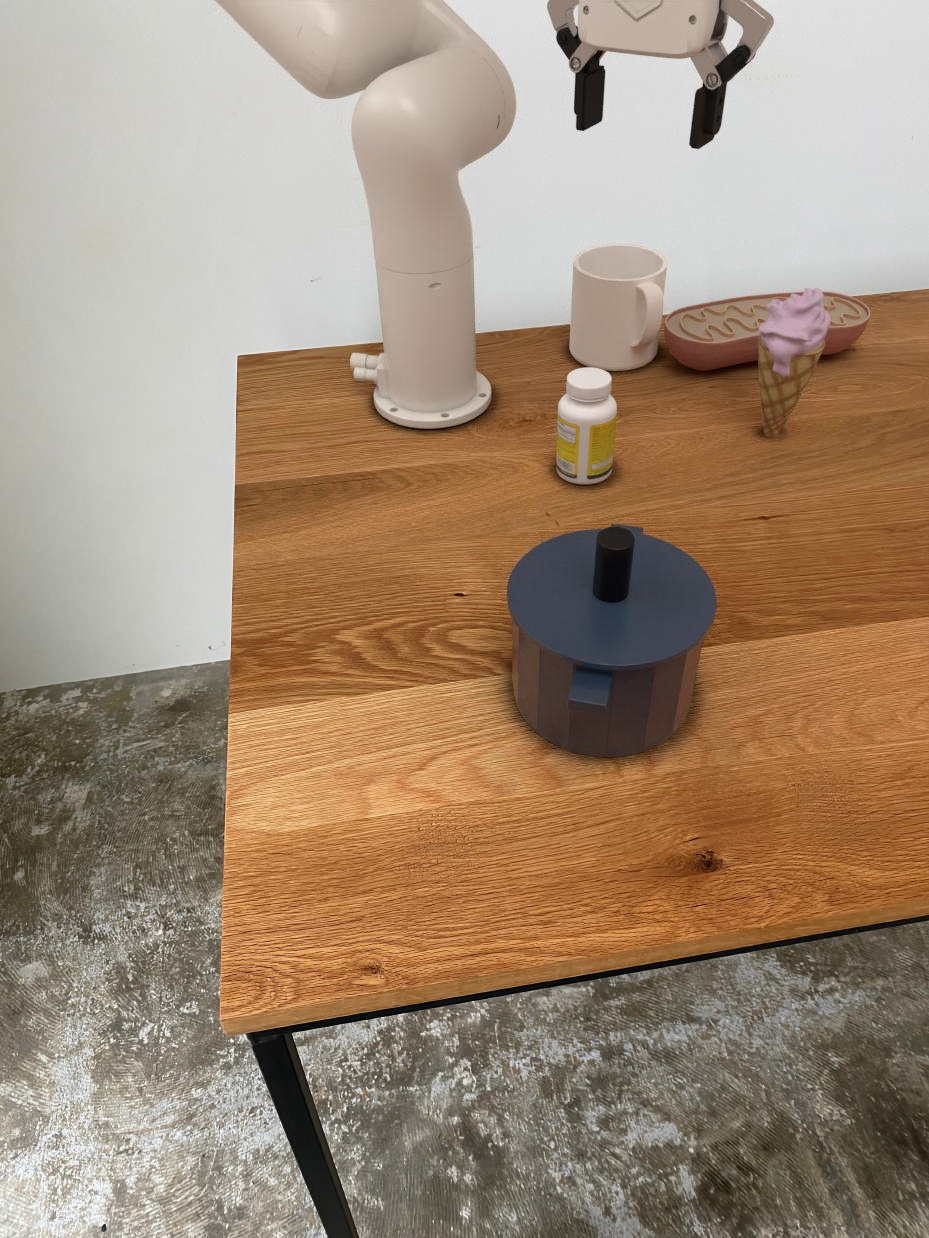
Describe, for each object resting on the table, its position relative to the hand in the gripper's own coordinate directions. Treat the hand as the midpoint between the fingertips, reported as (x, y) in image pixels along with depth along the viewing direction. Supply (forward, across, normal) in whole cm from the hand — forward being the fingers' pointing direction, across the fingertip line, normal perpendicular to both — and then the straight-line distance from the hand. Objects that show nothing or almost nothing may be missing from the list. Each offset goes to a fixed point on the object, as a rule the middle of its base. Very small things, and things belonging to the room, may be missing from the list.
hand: (643, 135), depth 73 cm
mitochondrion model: (+29, +4, +26) cm, 39 cm away
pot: (+29, +14, -29) cm, 43 cm away
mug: (+29, -9, +18) cm, 35 cm away
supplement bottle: (+29, -1, -5) cm, 29 cm away
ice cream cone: (+29, +12, +11) cm, 33 cm away
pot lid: (+20, +14, -29) cm, 38 cm away
